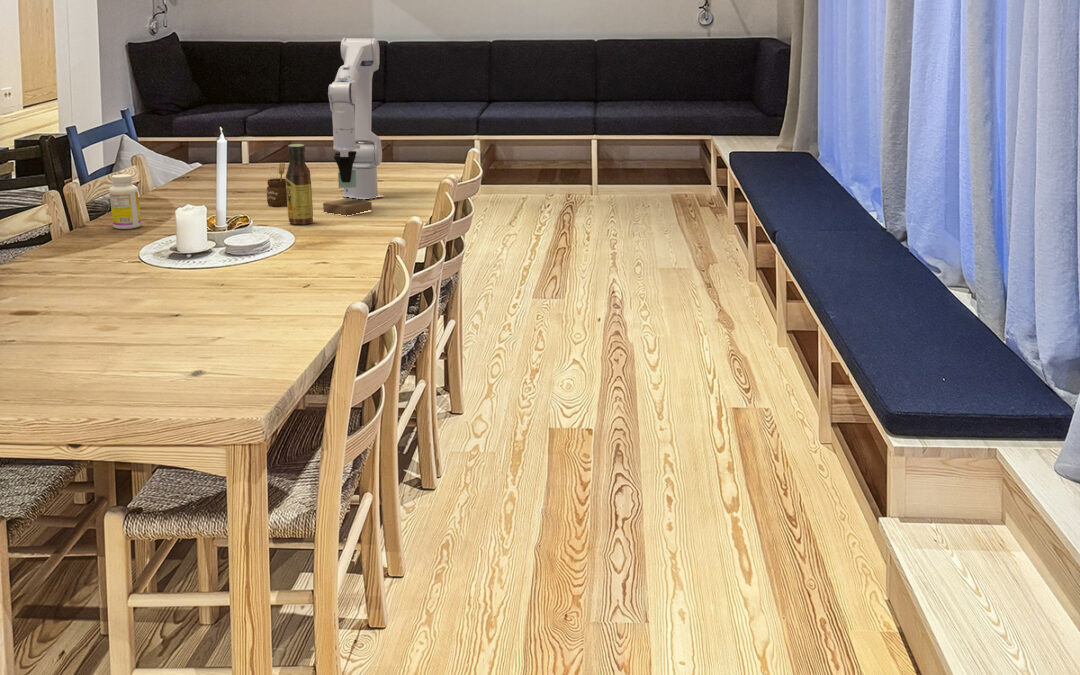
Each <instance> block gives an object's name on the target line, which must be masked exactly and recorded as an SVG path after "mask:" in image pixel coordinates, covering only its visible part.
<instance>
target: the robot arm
mask: <svg viewBox="0 0 1080 675" xmlns="http://www.w3.org/2000/svg"><path fill="white" fill-rule="evenodd" d="M380 53H381V52H380V44H379V40H378V39H377V38H376V37H372V38H363V37H362V38H361V37H360V38H358V37H357V38H354V37H353V38H352V37H351V38H348V37H343V38H342V40H341V41H340V56H341V59H342V61H343V65H341V66H340V67H339V68H338V70H337V73H336V75H335V78H334V81H332V83H329V85H328V91H327V96H328V101H329V108H330V111H331V116H332V117H331V118H332V135H333V137H332V138H333V146H332V147H333V148H332V149H333V150H335V151H337V152H334V155H333V159H334V161H335V162H336V165H337V168H338V171H339V172H340V177H341V180H342V182H350V180H351V173H352V170H356V188H343V195H341V197H342V196H343V197H342V198H346V197H349V198H350V199H352V198H357V199H356V200H358V199H369V198H374V197H376V196H378V194H379V193H378V166H380V165H381V163H382V161H383V148H382V141H381V138H380V137H379V136H378V135H377V134H375V133H374V132H373V131H372V108H373V107H372V101H373V97H372V96H373V94H372V92H373V76H374V72H376V71H378V70H379V68H380Z"/></svg>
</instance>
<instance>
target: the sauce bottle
mask: <svg viewBox="0 0 1080 675" xmlns="http://www.w3.org/2000/svg"><path fill="white" fill-rule="evenodd" d="M305 147H306V146H305V144H304V143H303V144H302V143H292V144H288V146H287V150H288V154H289V157H288V158H289V163H288V168H287V170H286V174H285V179H286V193H287V217H288V222H289V223H290V224H291V225H296V226H297V225H300V226H301V225H302V226H303V225H309V224H312V223H313V221H314V208H313V207H314V206H313V191H312V190H313V189H312V181H311V171H310V168H309V167H308V166H307V164H306V159H305V152H306V148H305Z"/></svg>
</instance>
